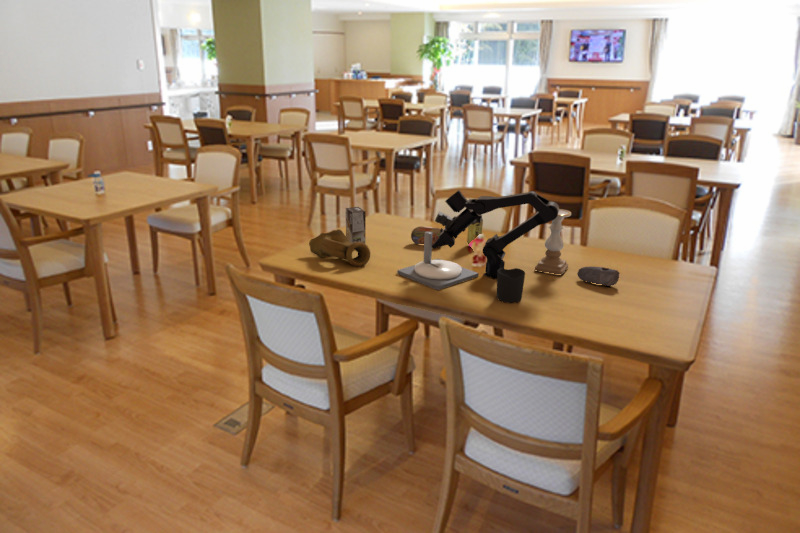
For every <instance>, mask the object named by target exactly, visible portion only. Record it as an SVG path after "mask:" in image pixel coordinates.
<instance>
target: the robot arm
mask: <svg viewBox="0 0 800 533" xmlns="http://www.w3.org/2000/svg"><path fill="white" fill-rule="evenodd" d="M444 202H445V203H446V204H447V205H448V207H449V208H450V209H451V211H453V212H454V213H459V214H458V215H457V216H453V217H451V216H449V215H448V214H446V213H443V212H441V211H438V213H437V215H436V217H435V220H434V222H435V223H436V224H440V225H441V226H443V227H444V228H442V227H440V229H441V230H440V235H439V237H438V238H437V240H436V241H435V242H434V244H433V245H432V250H435V249H437V248H441V247H446V246H448V247H449V248H453V247H454V245H456V244H455V243H456V239H457V238H458V236H459V235H460V234H462V233H464V232H465V231H466V229H468V226H469V225H471V224H472V223H473V222H474V221H475V220H477V221H478V222H479V223H481V218H482V219H483V215H484V214H487V213H490V212H492V211H495V210H497V209H501V208H502V209H503V208H509V207H510V208H511V207H517V206H522V205H530V206H532V208H534V209H535V211H536V212H535V213H534V214H533V215H532V216H530V217H529V218H527V219H526V220H524V221H523V222H521V223H520V224H518V225H517V226H515V227H514V228H512V229H511V230H509V231H507V232H506V233H505V234H503V235H500V236H498V234H497V233H496V234H494V235H493V236H492V237H490V238H488V239H487V240H486V242H485V243H484V246H483V247H482V253H483V255H484V257H486V261H485V272H484V273H483V274H482V275H483V276H485V275H486V276H485V277H488V278H491V279H494V280H497V270H498V269H500V268H503V269H505V266H506V262H505V260H504V258H505V255H506V254H507V253H506V252H505V251H504V249H505V248H506V247H507V246H508V245H510V244H511V243H513V242H514V241H516V240H518V239H520V238H522V236H524V235H526V234H527V233H528V232H531V231H533V229H535V228H536V227H538V226H540V225H544V224H547V223H550V222H552V220H554V219H556V217H557V216H558V213H559V209H560V206H559V204H558V203H557V202H555V201H551V200H548V198H545V197H543V196H541V195H540V194H538V193H537V192H536V191H533V190H530V191H528V192H521V193H514V194H508V195H503V196H491V195H490V196H489V195H488V196H487V195H485V196H484V195H481V196H479V197H477V198H473V199H472V198H469V199H467V197H466V196H465V195H464V194H463V193H462V191H461V190H459V189H458V190H457V191H456V192H455V193H453V194H452V195H450V196H449V197H448V198H447V199H446V200H445V201H444ZM464 208H465V209H464ZM462 210H463V211H462ZM472 210H473V211H472ZM478 214H481V215H478Z"/></svg>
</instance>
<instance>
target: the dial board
mask: <svg viewBox="0 0 800 533" xmlns="http://www.w3.org/2000/svg"><path fill="white" fill-rule="evenodd" d="M434 260H441V258H435V259H434ZM415 265H416V264H414V265H410V266H407V267H403V268H400V269H397V270H396V272H397V275H399V274H400V275H399V276H402V277H404V278H406V279H409V280H411V279H412V281H414V282H416V281H417V283H419V284H421V285H424V286H426V287H429V288H431V289H434V290H436V291H440V289H441V290H444V289H446V287H447V288H449V286H450V287H452V285H453V286H455V285H454V284H456V285H458V284H457V283H459V284H461V283H460V282H462V283H464V282H463V281H465V282H467V281H466V280H468V281H470V280H469V279H471V280H473V279H472V278H474V279H476V278H475V277H477V278H479V272H476V271H474V270H471V269H468V268H465V267H462V266H461V268H462V273H461V275H460V276H458V277H456V278H452V279H443V280H439V279H429V278H425V277H422V276H419V275H417V274H416V273H415ZM443 288H444V289H443Z"/></svg>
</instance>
